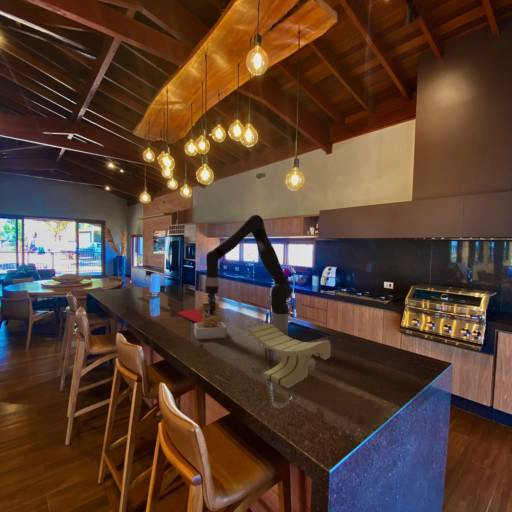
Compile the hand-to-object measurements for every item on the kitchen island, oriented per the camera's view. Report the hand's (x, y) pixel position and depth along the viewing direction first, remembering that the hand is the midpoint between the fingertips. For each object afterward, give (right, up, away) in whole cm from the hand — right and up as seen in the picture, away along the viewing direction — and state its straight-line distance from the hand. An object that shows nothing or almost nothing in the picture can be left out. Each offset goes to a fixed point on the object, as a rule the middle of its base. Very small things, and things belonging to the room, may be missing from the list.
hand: (210, 313), depth 161 cm
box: (-1, -13, 0) cm, 13 cm away
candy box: (0, -9, 0) cm, 9 cm away
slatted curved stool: (+39, -16, -47) cm, 63 cm away
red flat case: (-14, -12, +35) cm, 40 cm away
